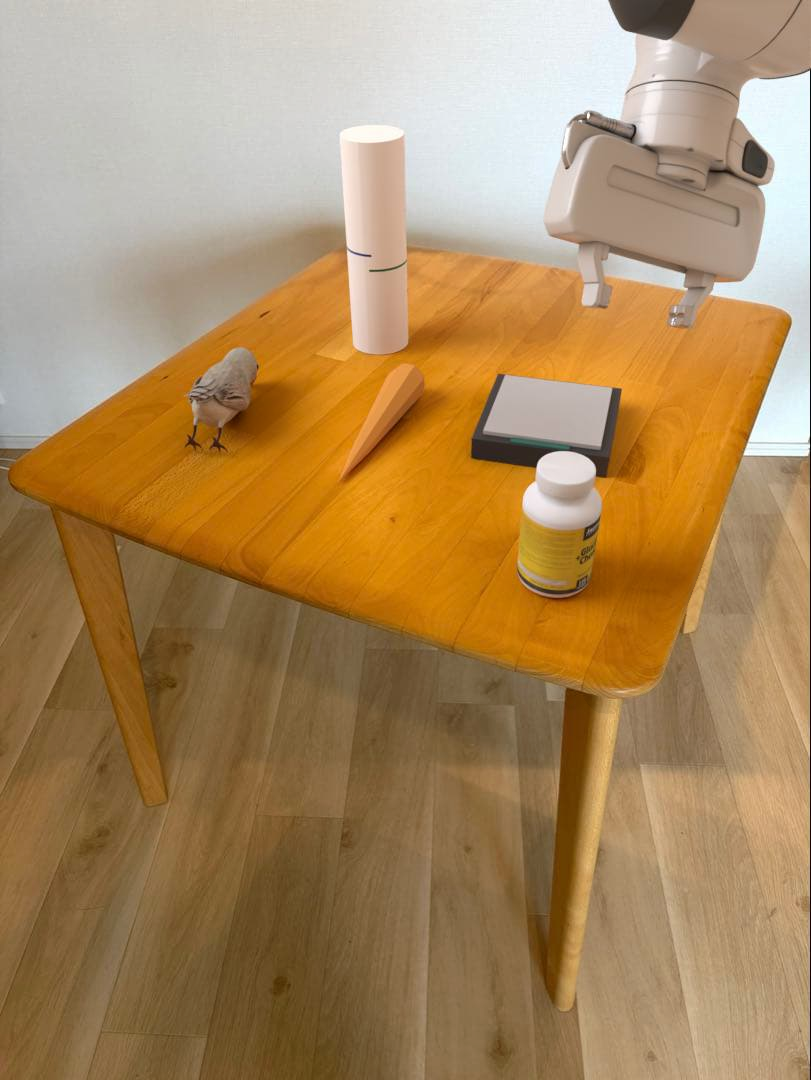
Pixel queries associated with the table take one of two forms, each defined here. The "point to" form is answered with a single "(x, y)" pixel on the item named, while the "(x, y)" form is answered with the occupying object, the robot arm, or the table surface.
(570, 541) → the pill bottle
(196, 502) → the table surface
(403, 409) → the carrot
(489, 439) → the scale
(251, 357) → the decorative bird
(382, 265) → the cylindrical container
